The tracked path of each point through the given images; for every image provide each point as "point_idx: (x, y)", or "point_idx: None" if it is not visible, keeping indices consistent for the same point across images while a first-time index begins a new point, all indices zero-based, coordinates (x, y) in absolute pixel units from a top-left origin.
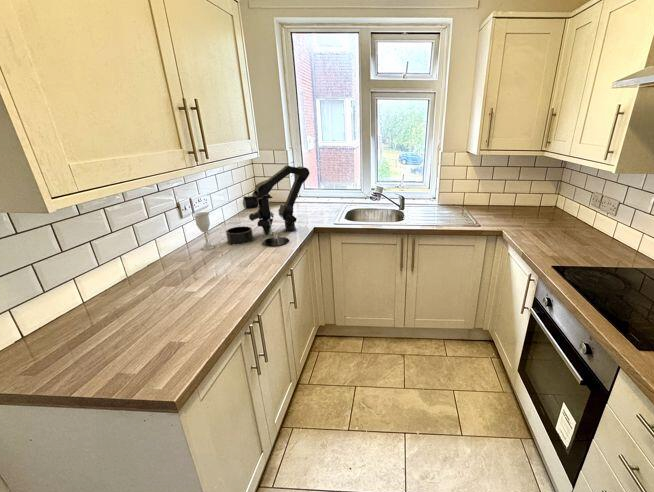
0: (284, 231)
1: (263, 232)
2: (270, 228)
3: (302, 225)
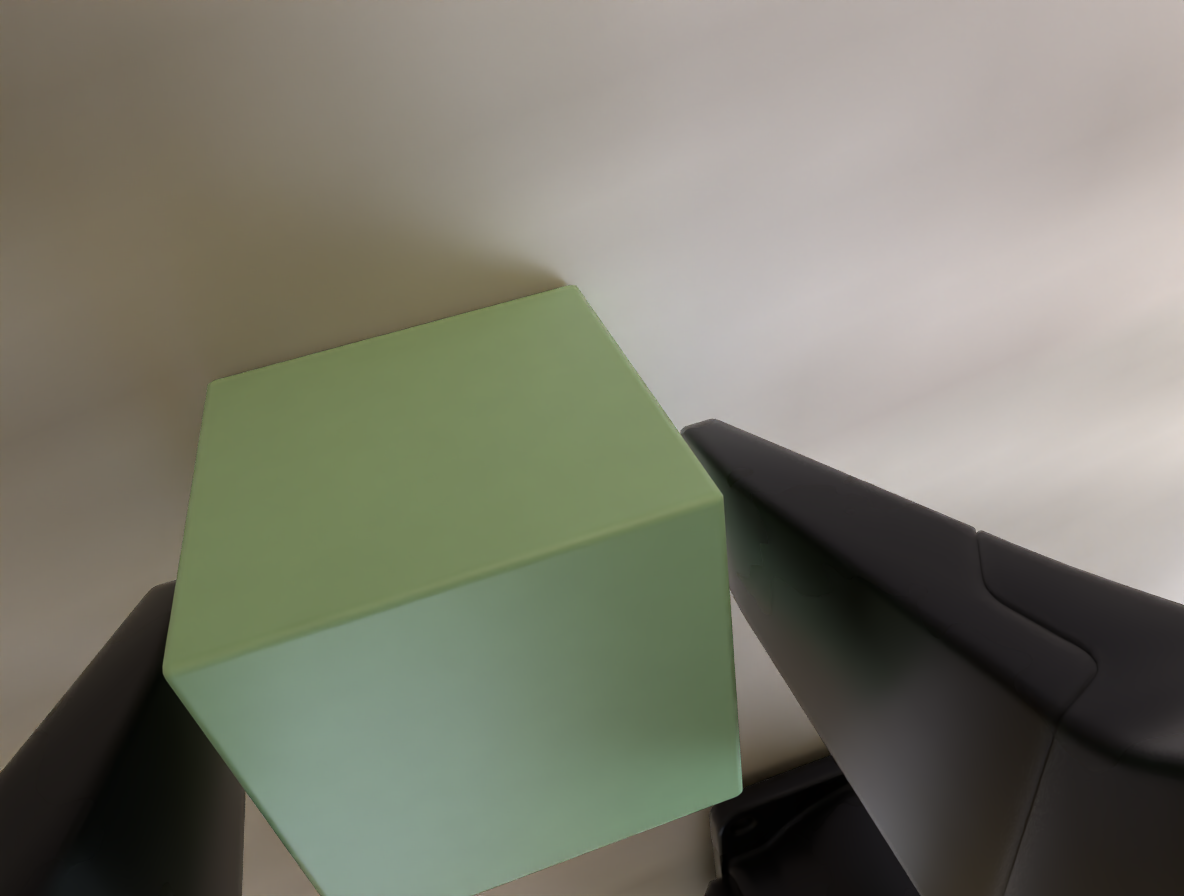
0: (753, 808)
1: (187, 527)
2: (525, 871)
3: None
